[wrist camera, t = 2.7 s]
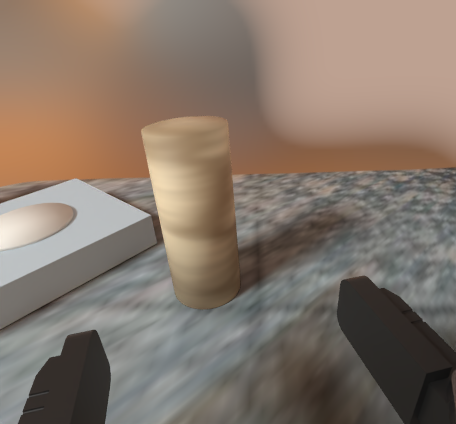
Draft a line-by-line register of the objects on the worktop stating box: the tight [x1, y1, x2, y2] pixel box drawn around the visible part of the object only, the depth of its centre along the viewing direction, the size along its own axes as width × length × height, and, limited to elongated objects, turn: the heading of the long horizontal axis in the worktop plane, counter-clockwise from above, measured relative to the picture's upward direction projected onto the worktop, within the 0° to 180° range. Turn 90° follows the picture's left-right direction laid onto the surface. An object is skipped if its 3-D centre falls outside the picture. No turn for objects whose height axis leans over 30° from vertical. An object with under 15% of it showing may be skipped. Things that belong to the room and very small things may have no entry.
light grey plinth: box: [0, 179, 157, 329], centre depth 29 cm, size 16×16×3 cm
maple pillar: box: [141, 116, 240, 309], centre depth 21 cm, size 5×5×12 cm
